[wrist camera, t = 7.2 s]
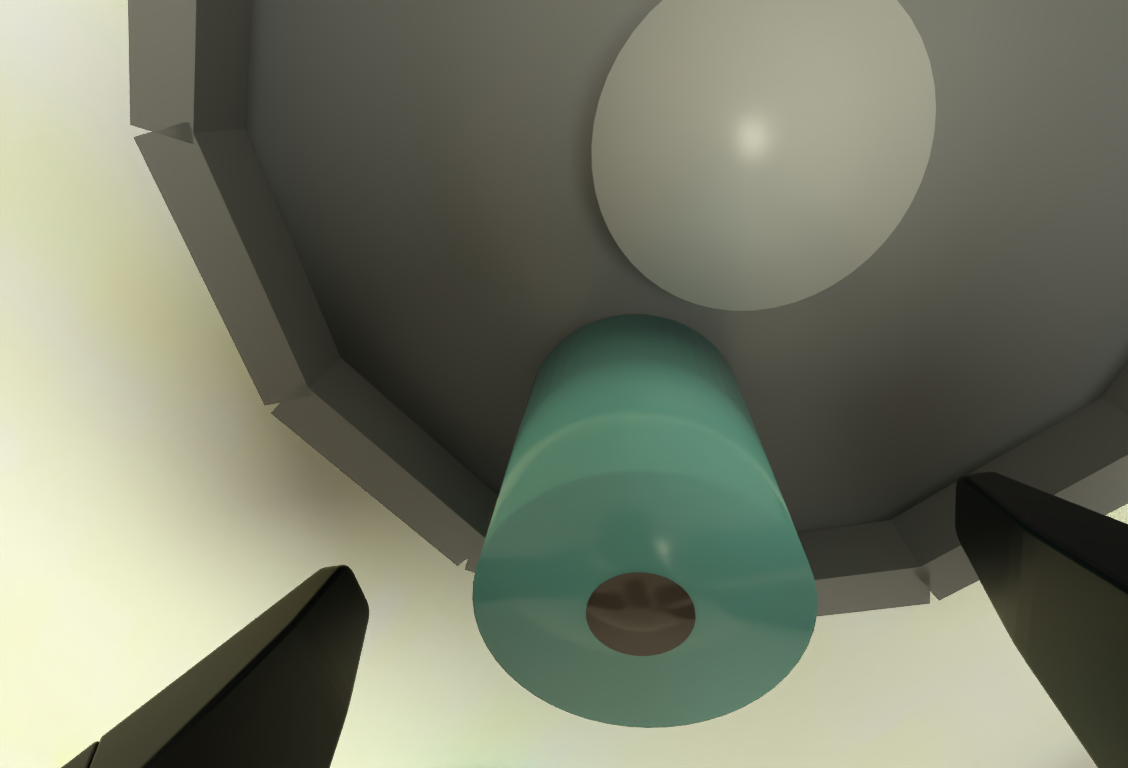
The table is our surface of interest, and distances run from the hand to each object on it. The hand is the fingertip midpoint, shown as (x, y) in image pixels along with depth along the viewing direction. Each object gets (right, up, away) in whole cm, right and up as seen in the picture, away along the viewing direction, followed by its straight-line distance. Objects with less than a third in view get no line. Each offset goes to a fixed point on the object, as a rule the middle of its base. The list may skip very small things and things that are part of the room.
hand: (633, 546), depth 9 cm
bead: (0, +2, +4) cm, 4 cm away
